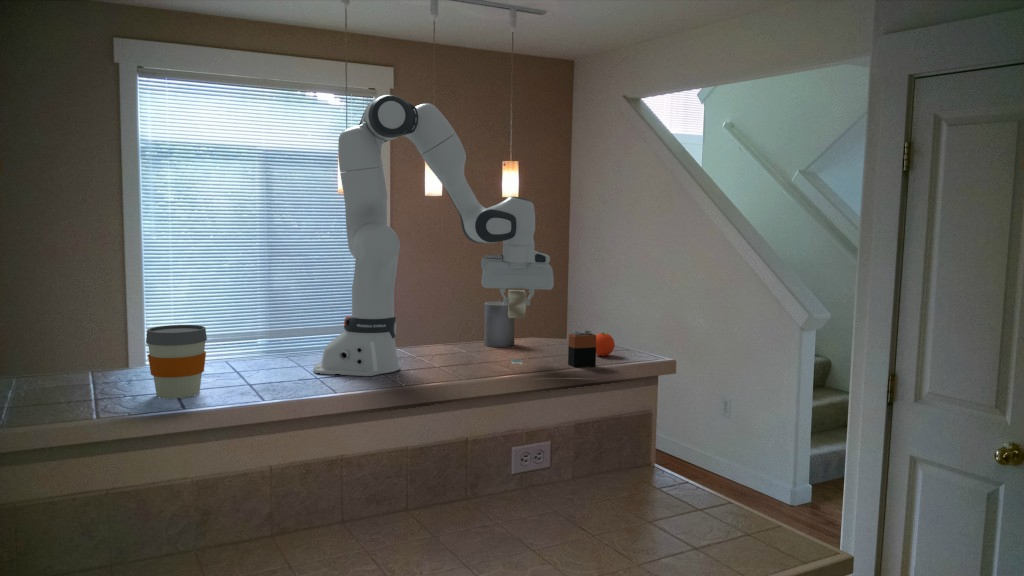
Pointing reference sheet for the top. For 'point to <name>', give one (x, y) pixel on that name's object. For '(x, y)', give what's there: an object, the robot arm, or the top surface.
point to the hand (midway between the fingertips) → (516, 304)
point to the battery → (582, 349)
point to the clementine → (604, 344)
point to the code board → (516, 361)
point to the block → (517, 304)
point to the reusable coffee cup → (176, 359)
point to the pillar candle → (498, 325)
